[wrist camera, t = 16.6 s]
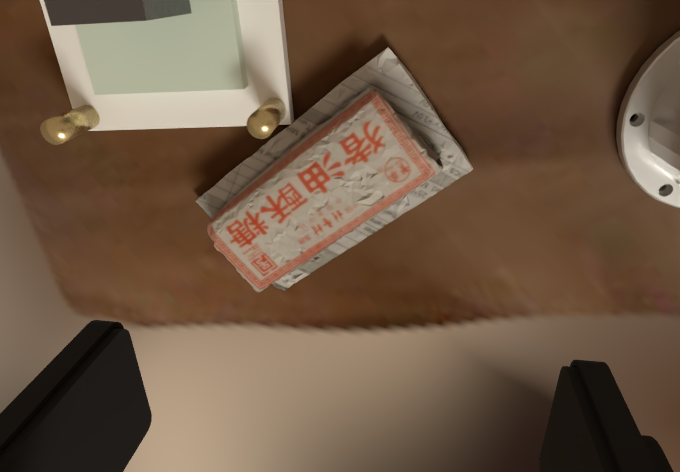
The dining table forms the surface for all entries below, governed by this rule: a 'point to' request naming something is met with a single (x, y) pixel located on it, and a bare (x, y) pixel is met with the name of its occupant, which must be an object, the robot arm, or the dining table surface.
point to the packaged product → (333, 176)
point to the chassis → (190, 106)
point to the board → (157, 44)
